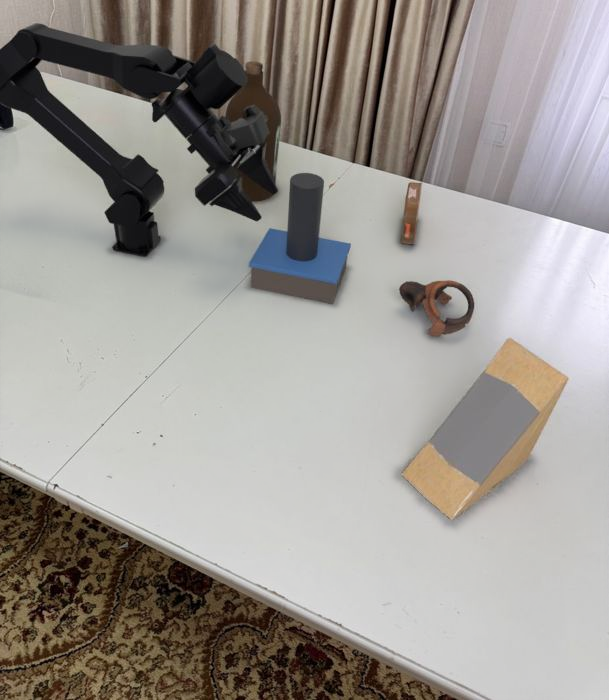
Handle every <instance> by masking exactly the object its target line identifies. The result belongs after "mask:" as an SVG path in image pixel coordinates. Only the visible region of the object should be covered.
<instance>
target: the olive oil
mask: <svg viewBox="0 0 609 700" xmlns="http://www.w3.org/2000/svg"><path fill="white" fill-rule="evenodd" d="M244 66H245V67H244V68H245V69H244V71H245V73H246V76H247V84H246V85H245V86H244V87H243V88H242V89H241V90H240V91H239V92H237V93H236V94H235V95H234V96H233V97H232V98H231V99H230V100H229V101H228V103H227V107H226V110H225V115H224V117H227V119H228V120H229V121H230V122H234V121H237V120H238V119H239V118H243V111H244V110H245V109H246V108H247V107H248V106H251V105H256V106H257V107H258V108H259V109H260V110H261V111H263V113H264V115H266V116H267V117H268V120H267V122H266V125H267V127H268V130H269V132H270V134H269V135H267V138H266V139H265V141H264V142H263V143H262V144H261V145H259V146H262V145H263V144H264V143H267V146H266V150H265V160H266V163H267V166H268V168H269V171H270V173H271V175H272V177H273V180H274V182H275V184H276V183H277V171H278V159H279V158H278V157H279V149H280V148H279V146H280V139H281V137H280V136H281V127H282V115H281V110H280V106H279V104H278V102H277V100H276V99H275V98H274V97H273V95H271V93H270V92H269V91H268V90H267V89H266V88H265V86H264V71H263V68H264V65H263V63H262V62H259V61H254V60H253V61H246V62H245V65H244ZM239 165H240V163H239V164H238V165H237V167H238V166H239ZM237 167H236V168H235V170H236V173H237V178H236V179H238V178H239V177H240V176H242V189H243V191H244V192H245V193H246V195H247V196H248V198H249V199H250V200H251V202H259V201H260V202H261V201H264V200H265V201H266V200H267V199H270V198H271V197H272V196H273V195H272V194H271V193H269V192H268V191H266V190H265V189H263V188H262V187H261V186H259V185H258V184H257V183H255V182H254V181H253V180H251V179H250V178H249V177H247V176H246V175H245V174H243V173H242V172H240V171H239V170H238V169H237ZM236 179H235V180H236ZM276 185H277V184H276Z"/></svg>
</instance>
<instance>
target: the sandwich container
mask: <svg viewBox="0 0 609 700" xmlns="http://www.w3.org/2000/svg"><path fill="white" fill-rule="evenodd" d="M568 381H569V376H567V375H566V374H565V373H563V372H561V371H560V370H558V369H557V368H555V367H554V366H552V365H551V364H550V363H548V362H547V361H545V359H543V358H541V357H540V356H538V355H537V354H535V353H533V352H532V351H531V350H530V349H528V348H527V347H525V346H524V345H522V344H520V343H519V342H518V341H516V340H514V338H511V337H508V338H507V339H506V340H505V341H504V342H503V344H502V345H501V346H500V348H499V350H498V351H497V352H496V354H495V355H494V356H493V358H492V359H491V360H490V362H489V363H488V364H487V366H486V368H485V369H484V370H483V371H482V373H481V374H480V375H479V376H478V378H477V379H476V380H475V382H474V383H473V384H472V386H471V387H470V388H469V389H468V390H467V392H466V393H465V394H464V396H463V397H462V398H461V399H460V401H459V402H458V403H457V405H455V407H454V408H453V409H452V411H451V412H450V413H449V415H448V416H447V417H446V418H445V420H444V421H443V422H442V423H441V424H440V426H439V427H438V429H436V431H435V432H434V434H433V435H432V436H431V437H430V438H429V440H428V441H427V443H425V445H424V446H423V448H421V450H420V451H419V452H418V453H417V455H416V456H415V457H414V459H412V461H411V462H410V463H409V464H408V466H407V467H406V468H405V469H404V471H403V472H402V473H401V476H402V477H403V478H405V480H406V481H408V483H410V484H411V485H412V487H414V488H415V490H417V491H418V492H419V494H421V495H422V496H423V497H424V498H425V499H426V500H427V501H428V502H430V503H431V504H432V505H433V506H434V507H436V508H437V509H438V510H439V511H440V512H441V513H443V514H444V515H445V516H446V517H448V518H449V519H450V520H451V521H453V520H454V519H455V518H457V517H458V516H459V515H461V514H462V513H463V512H465V511H467V509H469V508H470V507H471V506H473V505H474V504H475V503H477V502H478V501H479V500H481V499H482V498H484V497H486V495H488V494H489V493H490V492H491V491H492V490H494V489H495V488H496V487H497V486H498V485H500V484H501V483H502V482H503V481H504V480H505V479H508V478H509V477H510V476H511V475H512V474H514V473H515V472H516V471H517V469H519V468H520V467H521V466H522V465H523V464H524V463H526V461H528V459H529V458H530V456H531V454H532V451H533V450H534V448H535V446H536V444H537V442H538V440H539V438H540V437H541V434H542V433H543V431H544V429H545V426H546V424H547V423H548V420H549V419H550V417H551V416H552V413H553V411H554V409H555V407H556V405H557V403H558V401H559V400H560V397H561V395H562V394H563V392H564V390H565V387H566V385H567V383H568Z"/></svg>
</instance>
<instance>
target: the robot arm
mask: <svg viewBox="0 0 609 700" xmlns="http://www.w3.org/2000/svg"><path fill="white" fill-rule="evenodd" d="M43 61H44V62H47V63H52V64H56V65H60V66H63V67H67V68H71V69H75V70H78V71H83V72H86V73H90V74H93V75H98V76H101V77H103V78H108V79H110V80H112V81H114V82H115V83H116V84H117V85H118V86H120V87H121V88H122V89H123V90H125V91H127V92H129V93H132V94H134V95H136V96H138V97H140V98H143V99H145V100H154V99H155V100H154V101H153V102H151V107H152V113H151V121H152V122H153V123H157V122H158V121H160V120H161V119H162V118H163V117H166V119H168V121H169V122H170V123H171V124H172V125H173V126H174V127H175V129H176V130H177V131H178V132H179V134H181V136H182V137H183V138H184V139H185V140H186V141H187V142H188V144H189V146H188V147H187V148H186V150H187V151H188V152H189V153H190V154H191V155H192V154H193V153H195V152H196V153H197V154H198V155H199V156H200V157H201V158H202V160H203V161H204V162H205V163H206V164H207V165H208V167H207V168H206V169H205V171H206V172H207V173H208V174H207V175H205V176H204V177H203V178H202V179H201V180H200V182H199V183H198V184H197V185H196V186H195V187H194V196H195V198H196V199H197V200H198V201H199V202H200V203H201V205H203V206H207V205H208V204H209V206H211V207H213V206H217V207H220V208H222V209H225V210H228V211H231V212H233V213H235V214H238V215H240V216H242V217H245V218H247V219H249V220H252V221H254V222H259V221H260V220H261V219H262V215H261V213H260V212H259V210H258V208H257V207H256V205H255V204H254V203H253V201H251V200H250V199H249V198H248V196H247V195H246V193H245V192H244V191H243V189H242V176H240V177H239V178H238V179H236V178H237V173H236V170H235V168H236V167H237V165H238V164H239V163H240V165H239V166H238V167H237V169H238V170H239V171H240V172H242V173H243V174H245V175H246V176H247V177H249V178H250V179H251V180H253V181H254V182H255V183H257V184H258V185H259V186H261V187H262V188H263V189H265V190H266V191H268V192H269V193H271V194H272V196H275V195H276V194H277V193H278V192H279V189H278V187H277V184H275V182H274V180H273V177H272V175H271V173H270V171H269V168H268V166H267V163H266V160H265V150H266V146H267V143H264V144H263V145H262V146H259V145H261V144H262V143H263V142H264V141H265V139H266V138H267V135H269V134H270V132H269V130H268V127H267V125H266V122H267V120H268V117H267V116H266V115H264V113H263V111H261V110H260V109H259V108H258V107H257V106H256V105H251V106H248V107H247V108H246V109H245V110H244V111H243V118H239V119H238V120H237V121H234V122H230V121H229V120H228V119H227V117H225V115H223V114H222V115H221V116H220V117H219V118H218V116H217V115H216V114H215V113H214V111H213V109H214V110H220V109H221V108H222V107H223V106H225V104H227V103H228V102H230V100H231V99H232V98H233V96H234V95H235V94H236V93H237V92H239V91H240V90H241V89H242V88H243V87H244V86H245V85H246V84H247V76H246V73H245V69H244V67H243V66H242V64H241V63H240V60H238V59H237V58H236V57H233V55H231V54H230V53H229V52H227V51H225V50H222V49H220V47H219V46H218V45H217V44H216V43H212V44H211V45H209V47H207V48H206V49H205V51H204V52H203V53H202V55H201V56H200V57H199V59H198V60H197V61H193V60H190V59H188V58H184V57H181V56H178V55H174V54H173V51H171V50H170V49H169V48H167V47H166V46H163V45H156V44H155V45H154V44H130V45H119V44H118V45H117V44H113V43H109V42H105V41H101V40H97V39H95V38H91V37H86V36H82V35H79V34H75V33H71V32H67V31H63V30H60V29H57V28H52V27H48V25H45V24H43V23H39V22H35V23H32V24H30V25H28V26H26V27H24V28H23V27H22V28H21V29H19V30H18V31H17V32H16V33H15V35H14V36H13V37H12V38H11V39H10V40H9V41H8V42H7V43H6V44H4V45H3V46H2V47H1V48H0V104H1V105H2V106H4V107H6V108H8V109H12V110H15V111H18V112H21V113H23V114H26V115H28V116H29V117H30V118H31V119H32V120H34V122H36V123H37V124H38V125H40V126H41V127H42V128H43V129H44V130H45V131H46V132H48V133H49V134H50V135H51V136H52V137H53V138H54V139H55V140H57V141H58V142H59V143H61V145H63V146H64V147H65V148H66V149H67V150H68V151H69V152H71V153H72V154H73V155H74V156H75V157H77V158H78V159H79V160H80V161H81V162H82V163H83V164H85V165H86V166H87V167H88V168H89V169H90V170H91V171H92V172H94V173H95V174H96V175H97V176H98V177H100V179H101V180H102V182H103V184H104V187H105V189H106V191H107V193H108V197H110V199H111V200H112V201H113V202H112V204H111V205H110V206H108V208H106V209H105V211H104V215H105V217H106V219H107V222H108V223H109V224H112V225H113V228H114V235H115V243H114V244H113V246H112V247H111V248H112V251H115V252H120V253H125V254H130V255H134V256H140V257H148V255H150V253H151V252H152V251H153V249H154V248H155V247H156V246H157V245H158V244H159V242H160V241H161V239H162V238H161V236H160V235H159V227H158V221H155V213H154V212H153V211H151V210H152V209H153V208H154V207H155V206H156V205H157V203H159V201H160V200H161V199H162V198H163V196H164V194H165V185H164V183H165V181H164V180H163V178H162V176H160V175H159V173H158V172H159V168H156V167H154V166H152V165H151V164H150V163H148V161H147V160H146V159H145V158H144V157H143V156H142V155H141V154H136V155H135V156H134V157H133V158H130V157H126V156H123V155H122V154H121V153H119V152H118V151H117V150H116V149H114V148H113V147H112V145H110V144H109V143H108V142H106V140H104V139H103V137H102V136H100V135H99V134H98V133H96V131H94V130H93V129H92V128H91V127H90V126H88V125H87V124H86V122H84V121H83V120H82V119H81V118H80V117H79V116H78V115H76V114H75V113H74V112H73V111H72V110H71V109H69V108H68V106H66V105H65V104H64V103H63V102H62V101H61V100H60V99H58V98H57V96H55V95H53V93H51V92H50V91H49V89H48V87H47V85H46V82H45V80H44V78H43V76H42V74H41V71H40V70H39V69H38V68H37V66H38V65H40V64H41V63H42V62H43ZM184 83H185V84H186V86H187V87H185V89H181V88H179V87H181V86H183V84H184ZM163 93H168V94H167V95H166V96H165V97H164V98H159V96H161V95H162V94H163ZM235 179H236V180H235Z"/></svg>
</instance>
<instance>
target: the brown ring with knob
mask: <svg viewBox="0 0 609 700" xmlns="http://www.w3.org/2000/svg"><path fill="white" fill-rule="evenodd" d="M447 288H454V289H457V290H458V291H460V292H461V293H462V294H463V296H464V297H465V298H466V301H467V310H466V313H465V314H464V315H463V316H460V317H458V318H451V317H446V318H445V321H444V320H442V319H441V318H440V317H441V314H442V313H441V312H440V310H439V309H438V308H437V307H438V306H436V302H439V303H441V304H443V305H444V306H447V305H448V304H449V302H450V301H451V300H452V299H453V297H452V296H451V295H450V294H448V293H446V292H445V289H447ZM398 291H399V294H400V297H401V299H402V300H403V301H404V302H405V303H406V304H407V305H408V307H409V309H410V312H415V308H416V307H419V306H420V305H421V304H423V307H424V310H425V312H426V314H427V317H428V318H429V320H430V321H431V322H432V326H431V327H430V328H428V330H427V332H428V333H427V334H429V335H431V336H433V337H435V338H436V337H441V335H450V334H453V333H456V332H459V331H461V330H463V329H464V328H466V325H468V324H469V323H470V322H471V319H472V317H473V314H474V312H475V300H474V296H473V294H472V292H471V291H470V289H468V288H467V287H466V286H465V285H464V284H462V283H460V282H458V281H456V280H451V279H450V280H435V281H431V282H430V283H427V284H422V283H420V282H418V281H413V280H409V281H404V282H403V283H402V284H400V286H399V288H398Z"/></svg>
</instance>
